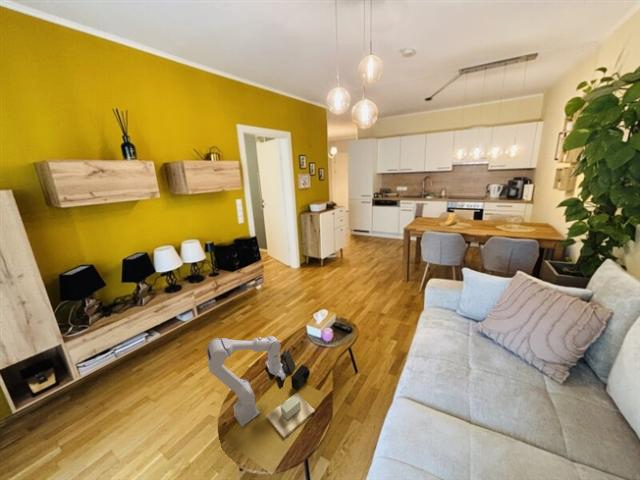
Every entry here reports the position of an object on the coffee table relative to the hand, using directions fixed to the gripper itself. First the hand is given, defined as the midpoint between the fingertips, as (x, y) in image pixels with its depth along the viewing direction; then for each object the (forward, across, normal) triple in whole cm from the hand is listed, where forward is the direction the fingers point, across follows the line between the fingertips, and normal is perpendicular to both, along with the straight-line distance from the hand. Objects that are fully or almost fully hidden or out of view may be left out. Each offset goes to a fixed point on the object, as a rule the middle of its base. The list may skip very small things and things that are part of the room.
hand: (276, 383), depth 129 cm
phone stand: (+10, +13, -15) cm, 22 cm away
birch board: (+9, -12, +1) cm, 15 cm away
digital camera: (+10, -1, -15) cm, 18 cm away
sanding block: (+8, -12, +1) cm, 14 cm away
